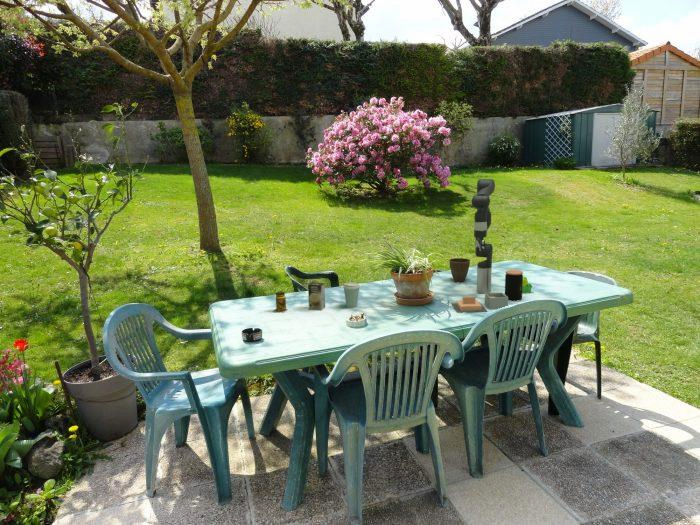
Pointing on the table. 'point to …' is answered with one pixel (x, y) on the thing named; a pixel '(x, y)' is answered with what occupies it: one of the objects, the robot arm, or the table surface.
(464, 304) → the lid
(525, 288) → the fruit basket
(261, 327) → the table surface
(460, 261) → the plant pot
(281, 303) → the condiment
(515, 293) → the coffee jar
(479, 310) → the rubber mat
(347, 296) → the disposable coffee cup
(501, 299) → the storage box
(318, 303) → the coffee box
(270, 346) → the table surface
